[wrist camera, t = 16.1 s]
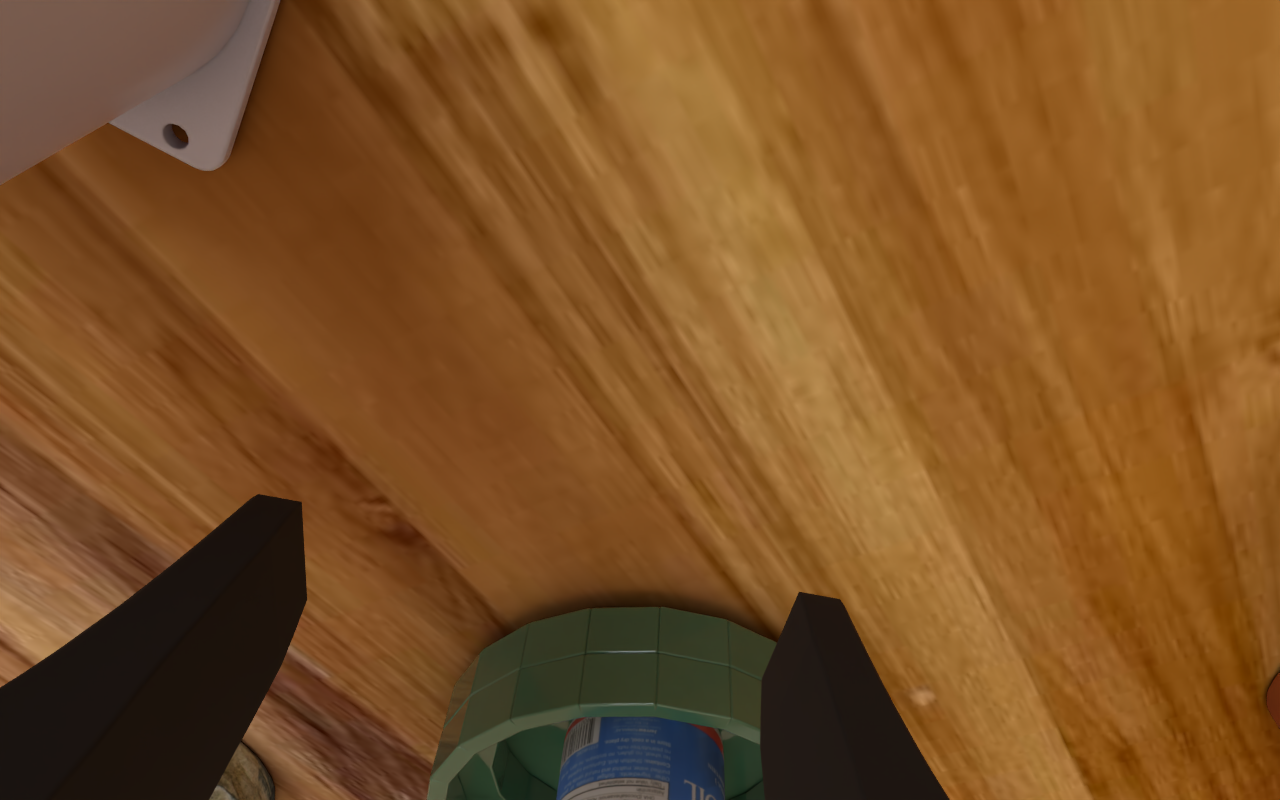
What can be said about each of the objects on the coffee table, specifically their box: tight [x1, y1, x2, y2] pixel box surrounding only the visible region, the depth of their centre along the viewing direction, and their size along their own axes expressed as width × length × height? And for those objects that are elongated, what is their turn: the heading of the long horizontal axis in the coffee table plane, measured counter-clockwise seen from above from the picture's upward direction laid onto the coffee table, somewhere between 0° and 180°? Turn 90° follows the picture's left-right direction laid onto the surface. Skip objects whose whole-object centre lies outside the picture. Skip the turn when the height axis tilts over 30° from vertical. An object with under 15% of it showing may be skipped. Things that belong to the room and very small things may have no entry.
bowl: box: [426, 606, 777, 800], centre depth 28 cm, size 13×13×4 cm
